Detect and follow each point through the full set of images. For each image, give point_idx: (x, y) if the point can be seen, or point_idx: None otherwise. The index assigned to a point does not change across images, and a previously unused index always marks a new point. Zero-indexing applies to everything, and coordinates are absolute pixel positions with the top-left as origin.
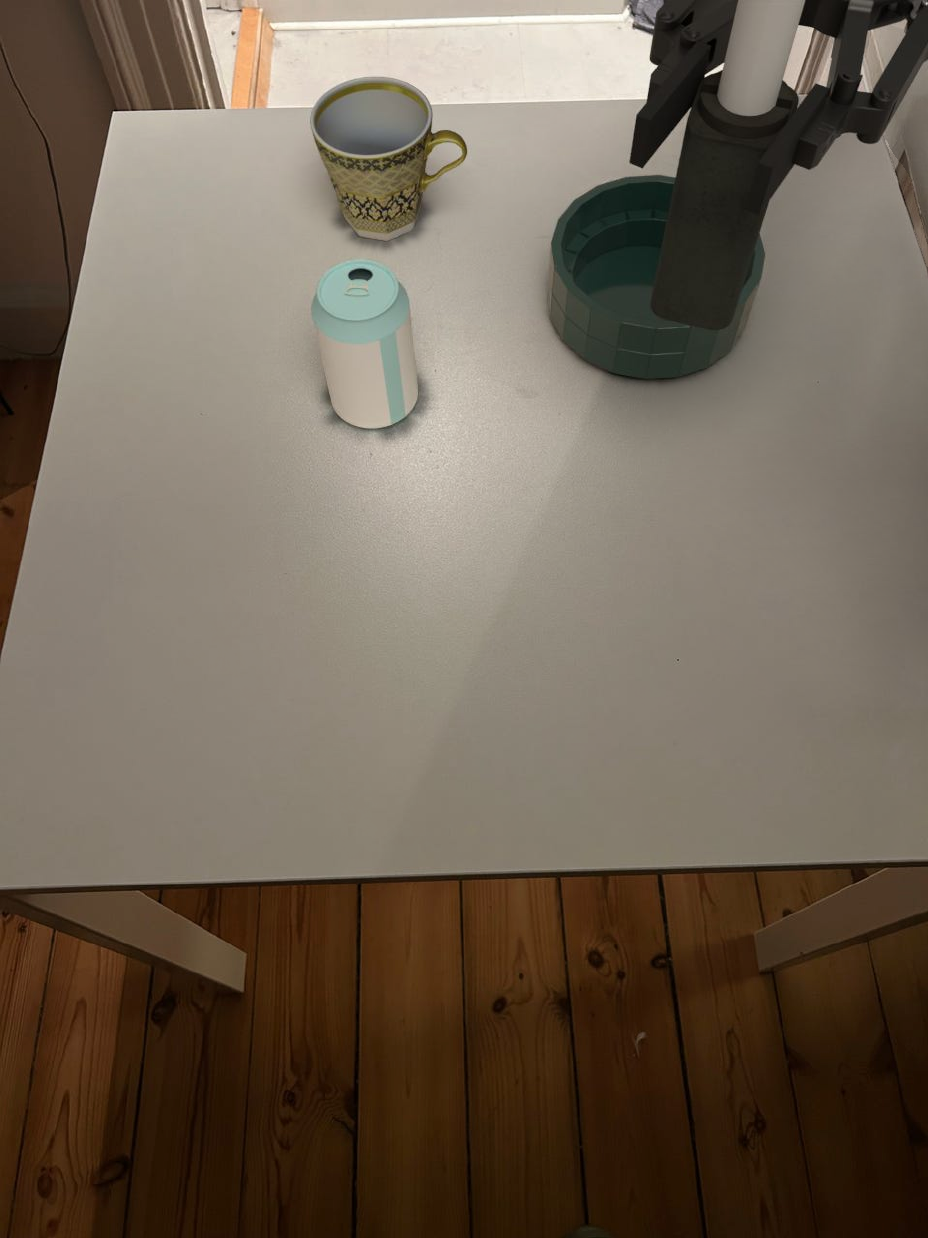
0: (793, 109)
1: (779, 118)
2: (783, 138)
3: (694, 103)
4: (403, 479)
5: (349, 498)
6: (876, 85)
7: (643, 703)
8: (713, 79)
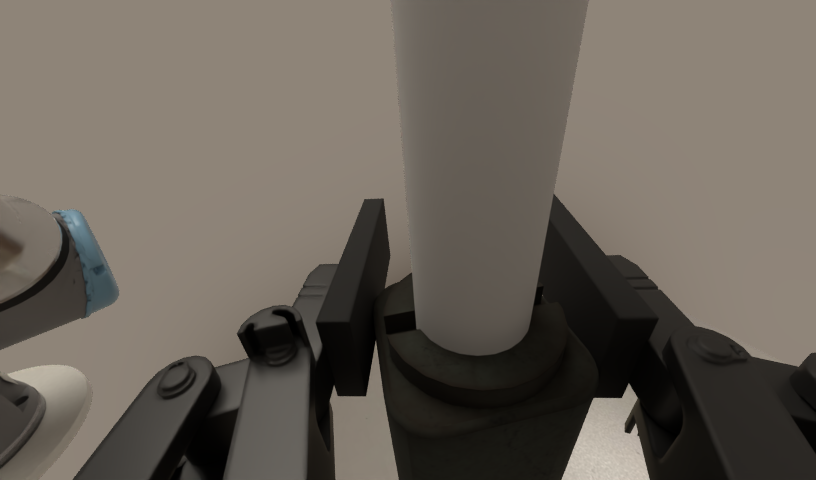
0: (385, 362)
1: (394, 293)
2: (366, 224)
3: (545, 301)
4: (599, 445)
5: (608, 411)
6: (196, 395)
7: (375, 385)
8: (553, 316)
